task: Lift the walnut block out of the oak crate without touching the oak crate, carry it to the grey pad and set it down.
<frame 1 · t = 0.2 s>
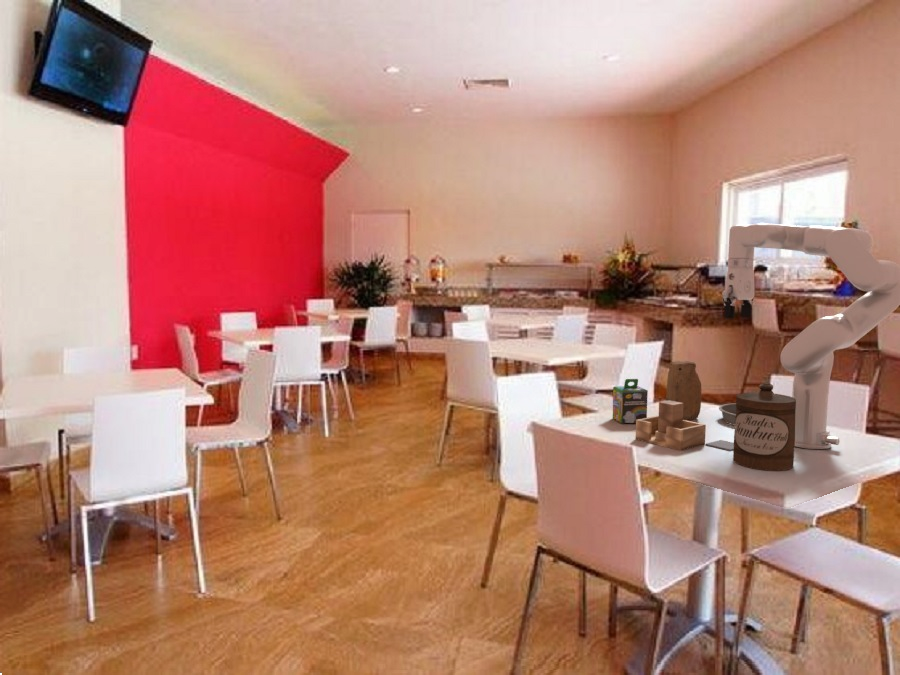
hand: (737, 317, 219), 36 cm above the table, tool pointing down, fingers open, 9 cm apart
wooden container: (762, 464, 184), on the table
cake pan: (756, 423, 234), on the table
oak crate: (669, 441, 206), on the table
grey pad: (725, 445, 202), on the table
walnut block: (670, 432, 206), point 3 cm above the table, touching oak crate
brown tall rounded lump: (682, 418, 239), on the table
chalk box: (629, 421, 234), on the table
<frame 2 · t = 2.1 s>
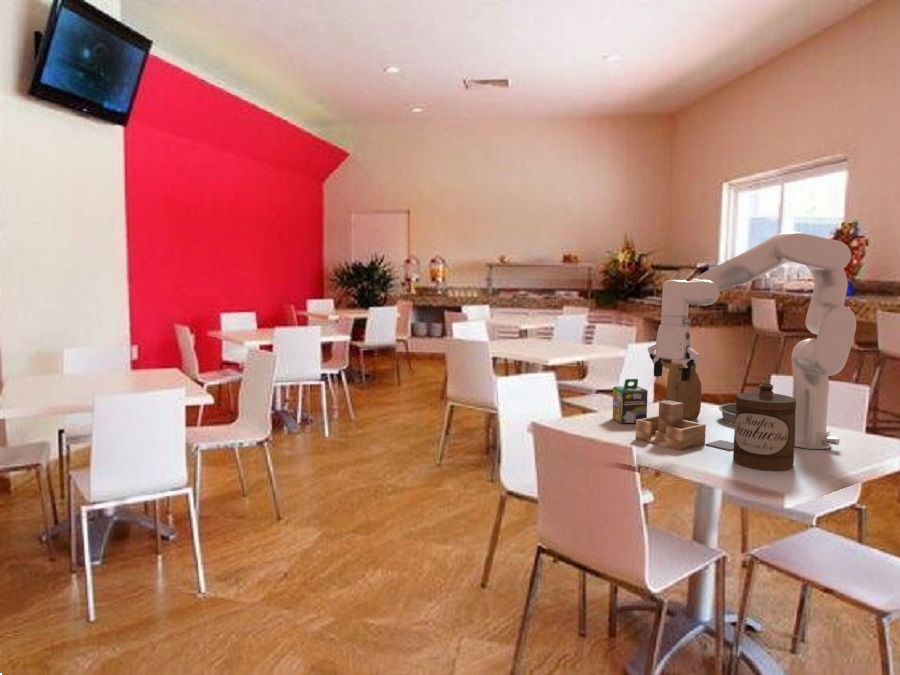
hand: (671, 378, 204), 19 cm above the table, tool pointing down, fingers open, 9 cm apart
nothing on the table moved.
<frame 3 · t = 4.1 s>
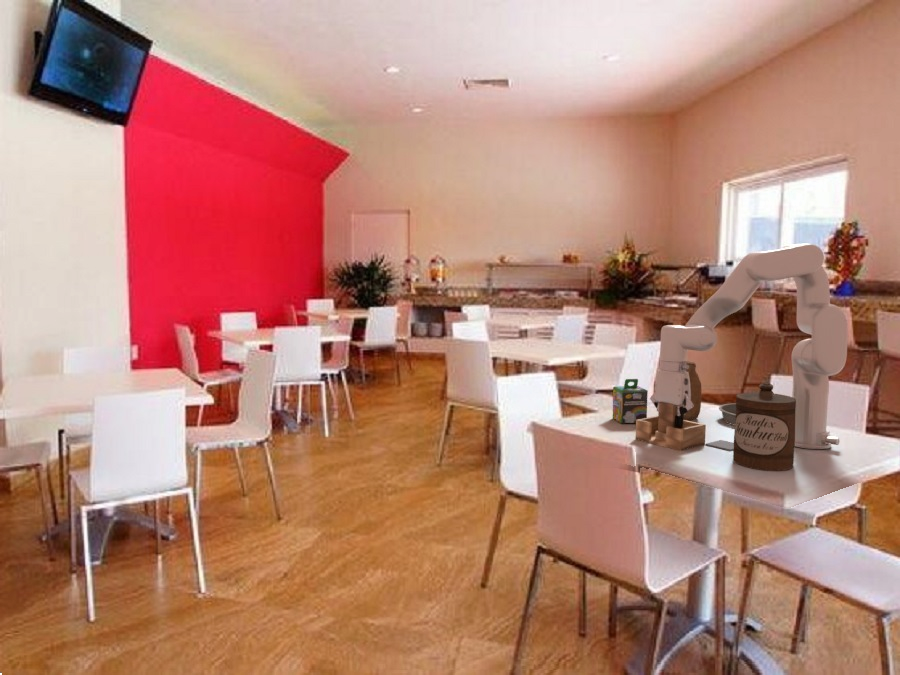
hand: (670, 425, 205), 5 cm above the table, tool pointing down, fingers closed on walnut block, 5 cm apart
walnut block: (670, 432, 206), point 3 cm above the table, touching gripper, oak crate
everything else where it was.
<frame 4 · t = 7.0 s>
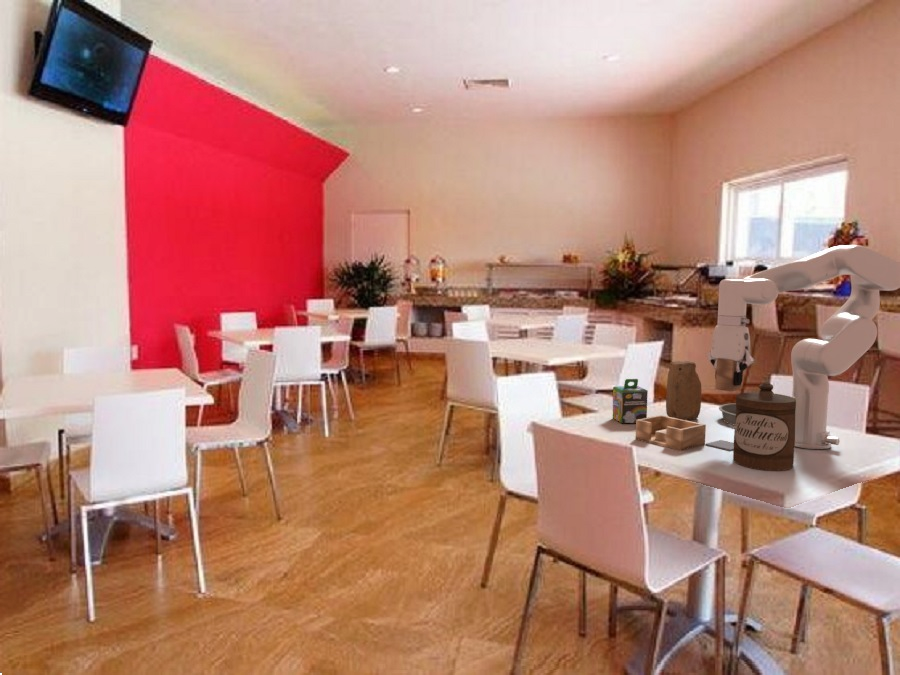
hand: (728, 383, 200), 19 cm above the table, tool pointing down, fingers closed on walnut block, 5 cm apart
walnut block: (728, 389, 200), point 17 cm above the table, touching gripper
everything else where it was.
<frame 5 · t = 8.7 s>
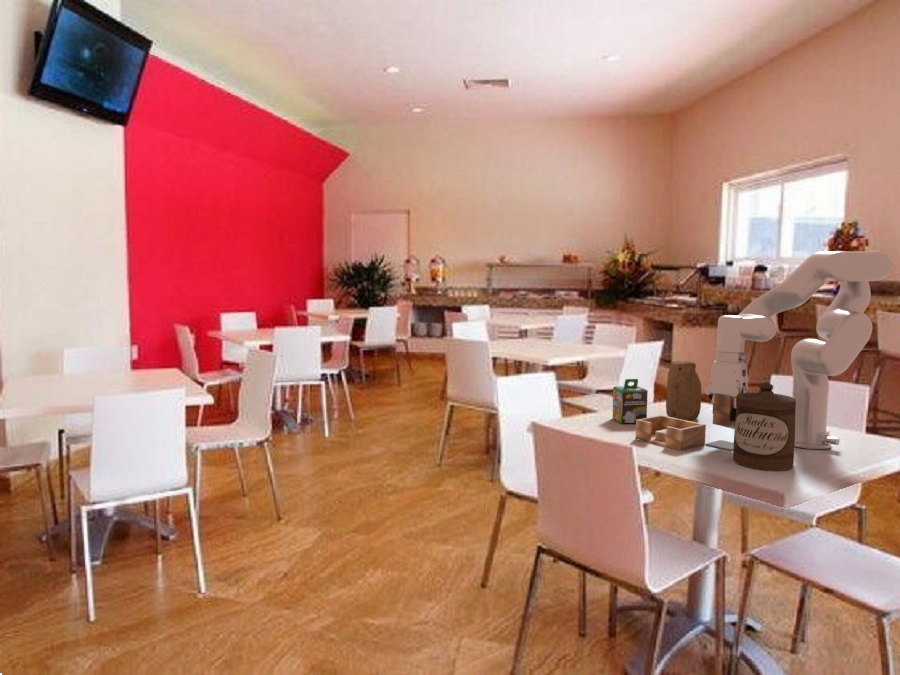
hand: (725, 418, 201), 8 cm above the table, tool pointing down, fingers closed on walnut block, 5 cm apart
walnut block: (725, 424, 201), point 6 cm above the table, touching gripper
everything else where it was.
when the fingers open (3 cm above the table, at t = 10.1 s): walnut block drops 1 cm, resting on grey pad.
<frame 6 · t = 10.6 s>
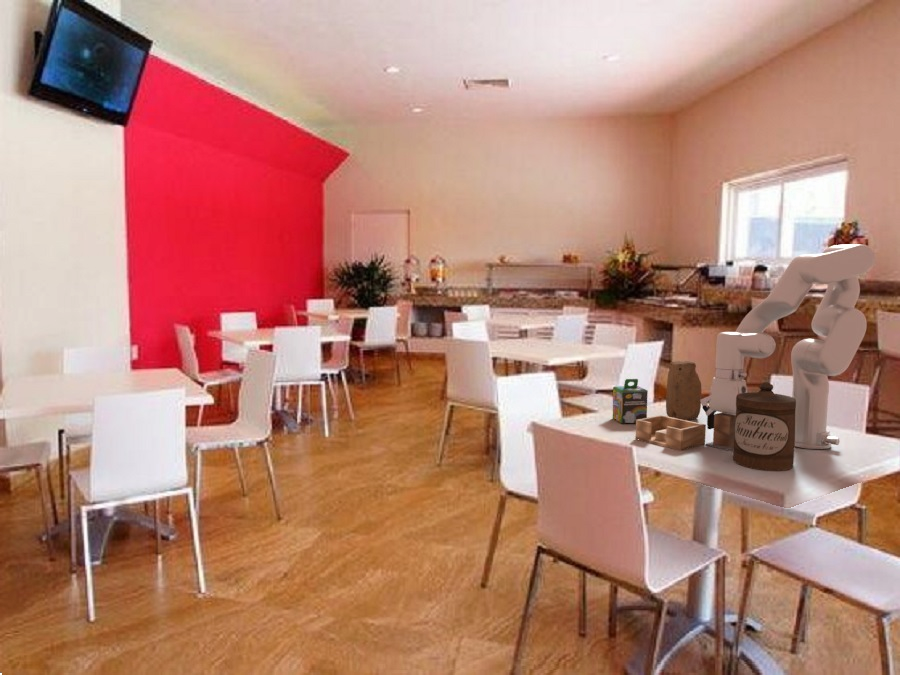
hand: (726, 431, 201), 4 cm above the table, tool pointing down, fingers open, 9 cm apart
walnut block: (725, 444, 202), resting on grey pad
everything else where it was.
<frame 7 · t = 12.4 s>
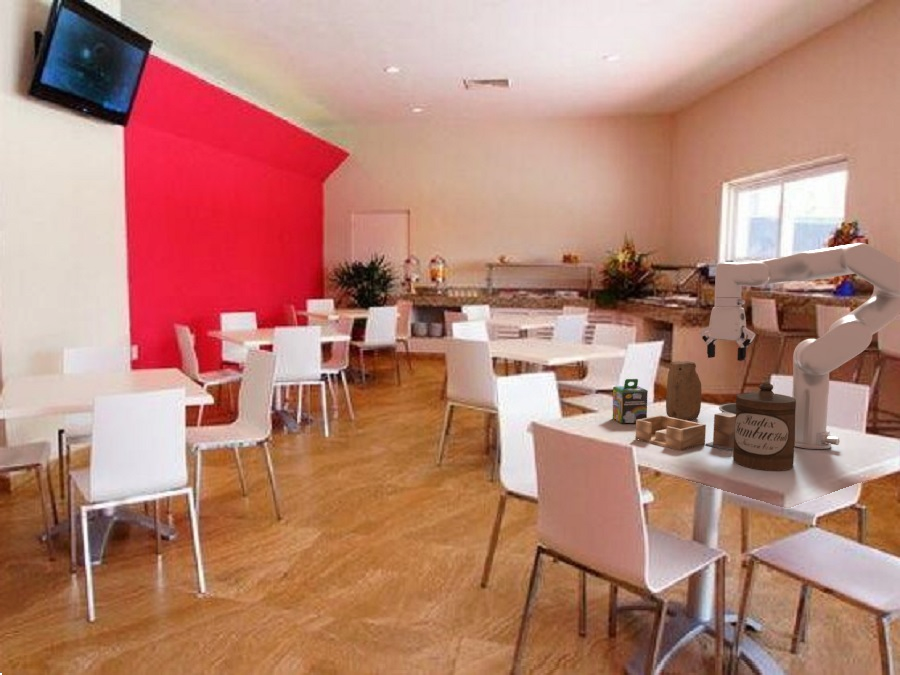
hand: (725, 358, 210), 25 cm above the table, tool pointing down, fingers open, 9 cm apart
nothing on the table moved.
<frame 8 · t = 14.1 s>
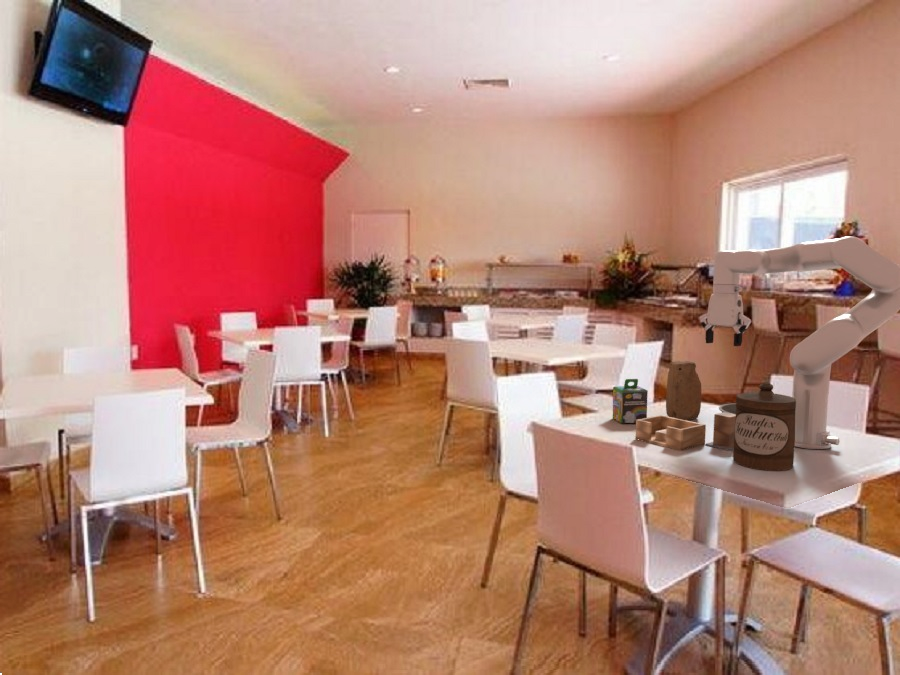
hand: (723, 344, 216), 28 cm above the table, tool pointing down, fingers open, 9 cm apart
nothing on the table moved.
at the end: walnut block inside the target area on the grey pad (0.0 cm from its centre), point 0.4 cm above the grey pad's base; walnut block tilted 0°; the gripper is holding nothing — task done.
